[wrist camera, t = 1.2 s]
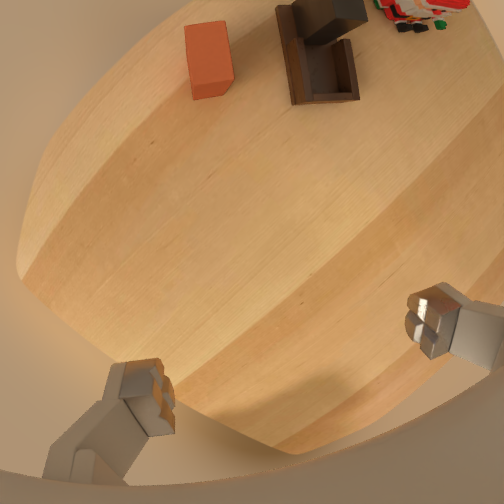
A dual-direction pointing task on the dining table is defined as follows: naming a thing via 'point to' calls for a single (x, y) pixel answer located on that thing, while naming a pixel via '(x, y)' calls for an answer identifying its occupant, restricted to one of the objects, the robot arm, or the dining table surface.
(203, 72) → the orange rectangular block
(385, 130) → the dining table surface
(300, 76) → the mount
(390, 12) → the figurine
